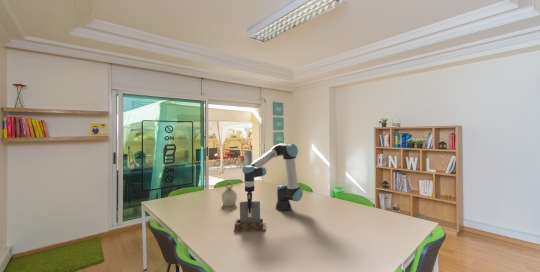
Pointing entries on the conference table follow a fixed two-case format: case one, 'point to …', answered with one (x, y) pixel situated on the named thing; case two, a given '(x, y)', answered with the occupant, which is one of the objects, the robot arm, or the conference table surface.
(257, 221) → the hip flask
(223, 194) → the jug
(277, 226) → the conference table surface
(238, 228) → the u rest
